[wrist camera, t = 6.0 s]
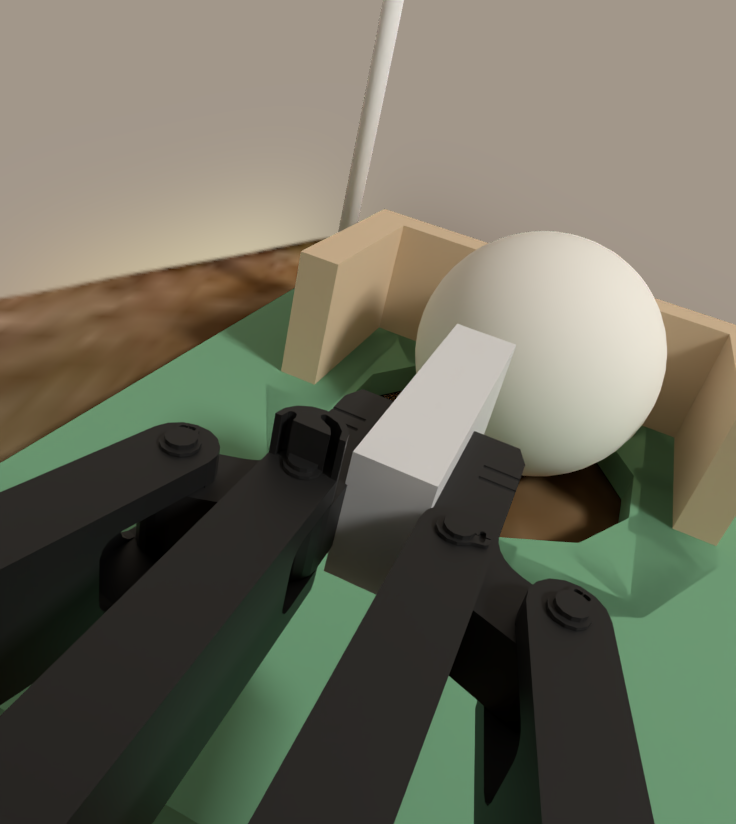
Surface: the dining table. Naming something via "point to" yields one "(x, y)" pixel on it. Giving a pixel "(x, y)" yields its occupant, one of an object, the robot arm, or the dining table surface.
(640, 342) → the ball
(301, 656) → the green
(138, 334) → the dining table surface
